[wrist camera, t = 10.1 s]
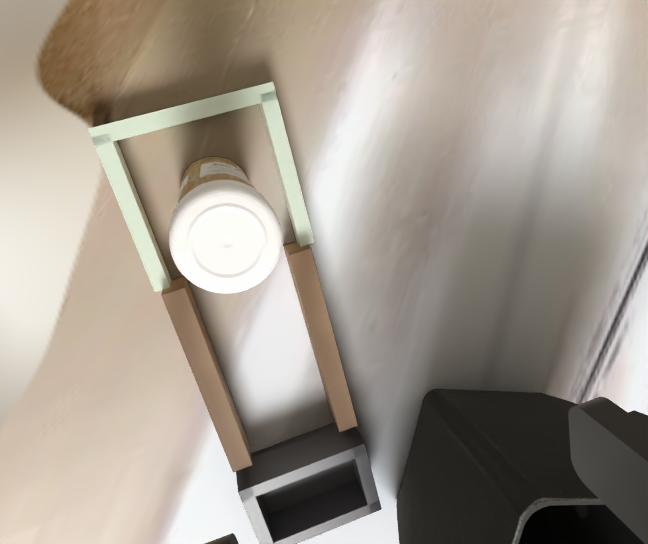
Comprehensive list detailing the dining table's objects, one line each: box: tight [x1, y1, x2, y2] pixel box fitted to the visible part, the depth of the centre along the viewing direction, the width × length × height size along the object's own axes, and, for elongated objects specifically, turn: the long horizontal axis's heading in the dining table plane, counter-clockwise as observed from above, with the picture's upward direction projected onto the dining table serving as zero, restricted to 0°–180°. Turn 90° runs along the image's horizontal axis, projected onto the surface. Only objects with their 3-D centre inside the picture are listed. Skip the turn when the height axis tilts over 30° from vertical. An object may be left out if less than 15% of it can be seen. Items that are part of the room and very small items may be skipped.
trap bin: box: [236, 423, 381, 544], centre depth 38 cm, size 10×7×4 cm
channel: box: [162, 241, 358, 472], centre depth 35 cm, size 10×15×2 cm, turn 14°
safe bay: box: [88, 82, 315, 292], centre depth 30 cm, size 11×10×2 cm
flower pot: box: [397, 389, 645, 544], centre depth 36 cm, size 19×19×17 cm
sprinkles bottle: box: [169, 157, 282, 293], centre depth 25 cm, size 5×5×14 cm
